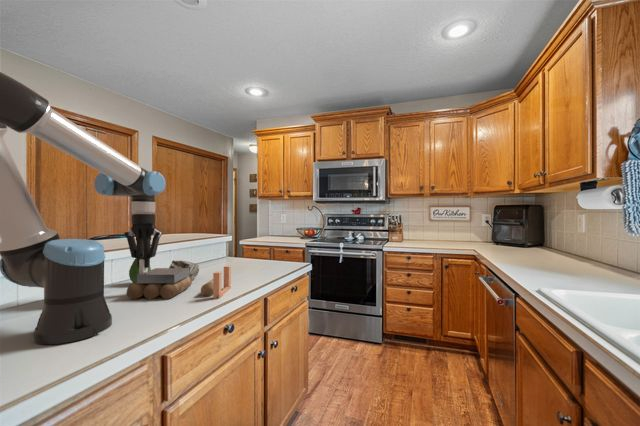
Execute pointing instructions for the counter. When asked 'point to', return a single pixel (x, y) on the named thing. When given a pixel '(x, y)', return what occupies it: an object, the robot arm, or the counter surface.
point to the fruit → (134, 271)
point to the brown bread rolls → (158, 289)
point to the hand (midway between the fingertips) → (143, 276)
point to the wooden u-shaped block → (217, 282)
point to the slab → (163, 275)
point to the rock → (184, 264)
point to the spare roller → (207, 288)
